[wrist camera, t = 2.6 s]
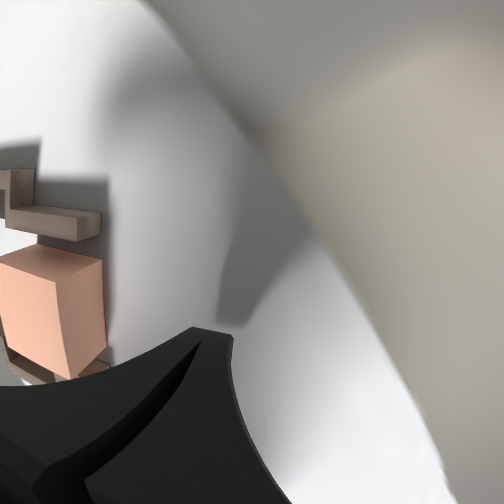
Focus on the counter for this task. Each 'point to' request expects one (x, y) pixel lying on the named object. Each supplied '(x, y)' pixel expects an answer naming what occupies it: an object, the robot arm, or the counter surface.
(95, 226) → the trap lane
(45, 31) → the counter surface
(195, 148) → the counter surface
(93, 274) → the block
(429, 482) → the counter surface
